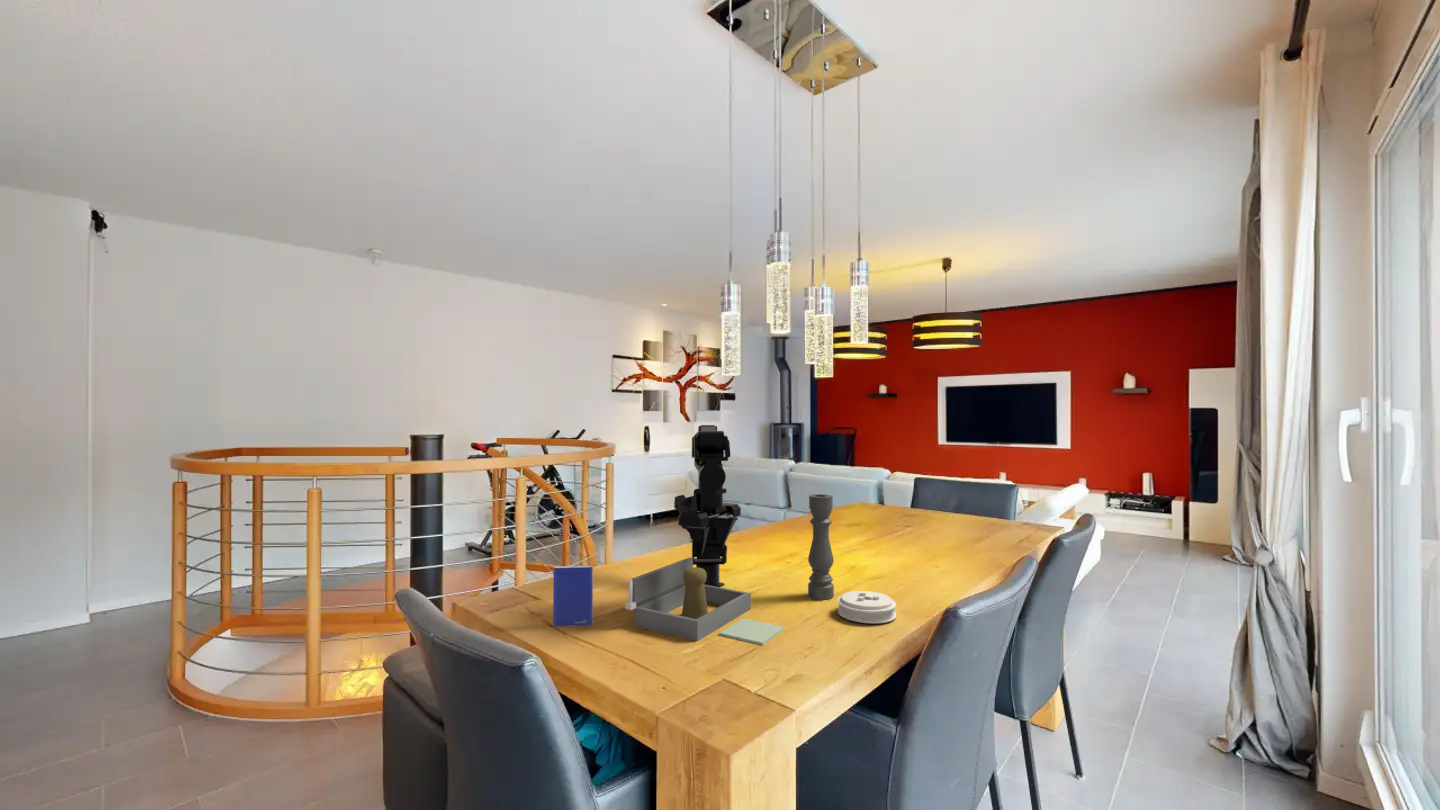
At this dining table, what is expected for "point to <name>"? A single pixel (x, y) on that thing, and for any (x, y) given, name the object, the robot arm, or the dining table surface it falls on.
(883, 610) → the lid
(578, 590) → the hard drive
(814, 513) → the candle holder
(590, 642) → the dining table surface
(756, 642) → the mat
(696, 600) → the olive brown pawn
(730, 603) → the equipment case
